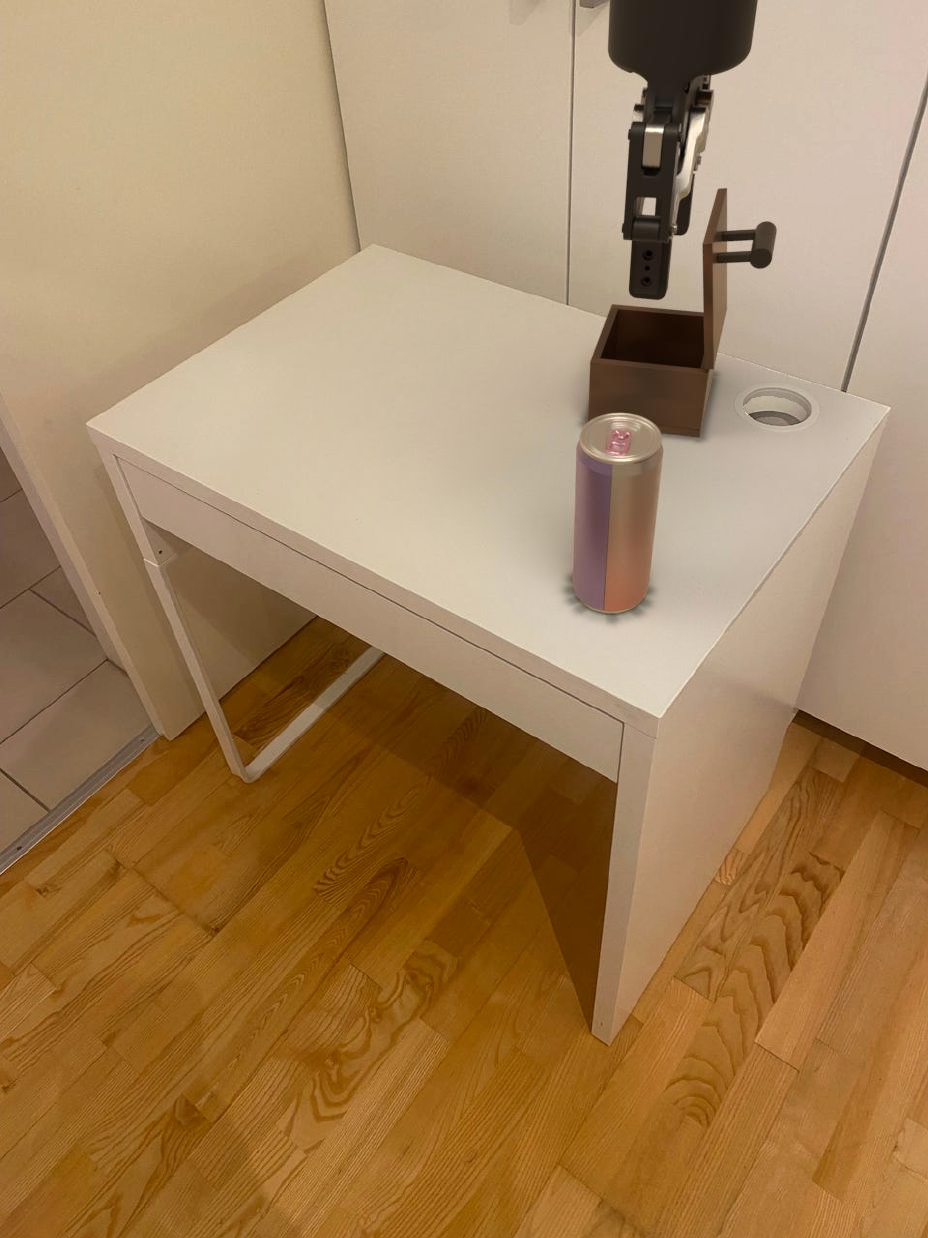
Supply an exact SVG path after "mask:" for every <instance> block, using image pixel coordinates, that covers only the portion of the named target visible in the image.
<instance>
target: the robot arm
mask: <svg viewBox="0 0 928 1238" xmlns="http://www.w3.org/2000/svg"><path fill="white" fill-rule="evenodd" d="M758 1H759V0H609V9H608V10H609V11H608V34H607V37H608V38H607V53H608V57H609V59H610V61H611V62H612V63H613V65H615V66H616V67H617V68H619V69H620V70H621V71H624V72H626V73H629V74H633V73H634V74H636V75H638V76H639V77H641V78H643V79H644V81H646V82H647V83H646V86H643V87H642V90H641V95H640V103H638V102H637V103H636V102H635V103H634V105H633V110H632V114H631V115H632V116H631V123H630V128H628V133H627V140H628V154H627V169H626V170H627V171H626V182H625V183H626V184H625V199H624V212H623V213H624V214H623V223H622V224H621V234H622V240H623V241H631V247H630V262H629V280H628V293H629V295H630V296H631V297H632V298H635V299H643V300H652V301H653V300H654V301H660V300H663V299H664V298H665V297H666V294H667V292H668V289H669V280H670V271H671V260H672V248H673V239H674V236H675V237H676V236H679V237H680V236H684V235H686V234H687V233H688V230H689V227H690V224H691V223H690V222H691V215H692V206H693V195H694V187H695V178H696V173H694V172H698V169H699V166H701V164H702V156H701V153H704V152H705V150H706V146H707V141H708V136H709V132H710V122H711V117H712V112H713V107H714V102H715V90H714V89H711V82H712V76H716V75H719V74H723V73H726V72H728V71H730V70H733V69H735V68H736V67H738V66H739V65H741V64H742V63H743V62H744V61H745V60H746V59H747V58H748V57H749V55H750V53H751V50H752V46H753V39H754V32H755V24H756V16H757V9H758ZM646 198H648V199H655V206H654V207H655V209H654V214H643V211H644V206H645V199H646Z"/></svg>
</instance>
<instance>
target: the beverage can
mask: <svg viewBox="0 0 928 1238" xmlns="http://www.w3.org/2000/svg"><path fill="white" fill-rule="evenodd" d="M575 453H576V454H575V482H574V483H575V484H574V486H575V487H574V494H575V495H574V518H573V519H574V521H573V552H572V553H573V554H572V555H573V557H572V560H573V561H572V589H573V591H574V594H575V595H576V597H577V598H578V599H579V600H580V602H581V603H582V604H584V605H585V607H588V609H591V610H592V611H595V612H598V613H602V614H621V613H624V612H627V611H630V610H632V609H634V608H635V607H636V606H638V605H639V604H640V603H641V602H642V601H643V600H644V599H645V598H646V596H647V595H648V591H649V587H650V586H649V585H650V577H651V569H652V559H653V550H654V541H655V531H656V523H657V513H658V505H659V496H660V487H661V486H660V485H661V477H662V469H663V459H664V445H663V436H662V433H661V432H660V430H659V428H658V427H657V426H656V425H655V424H654V423H653V422H651V421H650V420H648V419H646V418H644V417H642V416H639V415H635V414H630V413H610V414H605V415H601V416H598V417H596V418H594V419H592V420H590V421H589V422H588V421H587V422H586V423H585V424H584V425H583V427H582V428H581V430H580V432H579V440H578V442H577V444H576V451H575Z"/></svg>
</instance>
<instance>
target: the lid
mask: <svg viewBox="0 0 928 1238" xmlns="http://www.w3.org/2000/svg"><path fill="white" fill-rule="evenodd" d="M711 209H712V210H711V212H710V216H709V219H708V222H707V226H706V230H705V233H704V237H703V241H702V245H701V246H702V248H701V249H702V250H701V251H702V294H703V295H702V298H703V300H702V305H703V307H702V308H703V309H702V310H703V312H704V366H705V369H714V370H715V365H716V361H717V356H718V353H719V352H718V351H719V347H720V343H721V337H722V333H723V329H724V326H725V325H724V324H725V320H726V316H727V311H728V264H736V263H738V264H739V263H740V264H741V263H750V265H751V266H752V267H753V268H754V269H757V270H763V269H765V268H767V267H769V266H770V265H771V263H772V261H773V256H774V250H775V244H776V239H777V233H778V232H777V231H778V229H777V226H776V224H775V223H774V222H772V221H767V220H766V221H761V222H760V223H758V225H756V227H755V228H751V229H736V230H735V229H734V230H728V188H727V187H723V188H722V187H721V188H717V191H716V194H715V197H714V201H713V205H712V208H711ZM744 241H752V242H751V247H750V250H741V251H740V250H739V251H728V242H744Z"/></svg>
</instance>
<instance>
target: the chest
mask: <svg viewBox="0 0 928 1238" xmlns="http://www.w3.org/2000/svg"><path fill="white" fill-rule="evenodd" d="M592 353H593V354H592V356H591V359H590V361H589V378H588V379H589V383H588V406H587V408H588V409H587V410H588V411H587V423H588V422H589V421H590V420H592V419H594V418H596V417H598V416H601V415H605V414H610V413H630V414H635V415H639V416H642V417H644V418H646V419H648V420H650V421H651V422H653V423H654V424H655V425H656V426H657V427H658V428H659V430H660V432H661V434H669V435H670V434H671V435H678V436H685V437H686V436H687V437H693V438H700V437H701V433H702V428H703V423H704V420H705V414H706V410H707V405H708V401H709V397H710V392H711V387H712V383H713V378H714V373H715V368H714V369H705V366H704V311H695V310H693V311H692V310H683V309H671V308H670V309H669V308H661V307H659V308H658V307H648V306H638V305H626V304H615V303H614V304H613V303H612V304H611V306H610V308H609V311H608V313H607V316H606V319H605V322H604V324H603V327H602V329H601V332H600V335H599V337H598V340H597V343H596V345H595V348H594V350H593V352H592Z"/></svg>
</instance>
